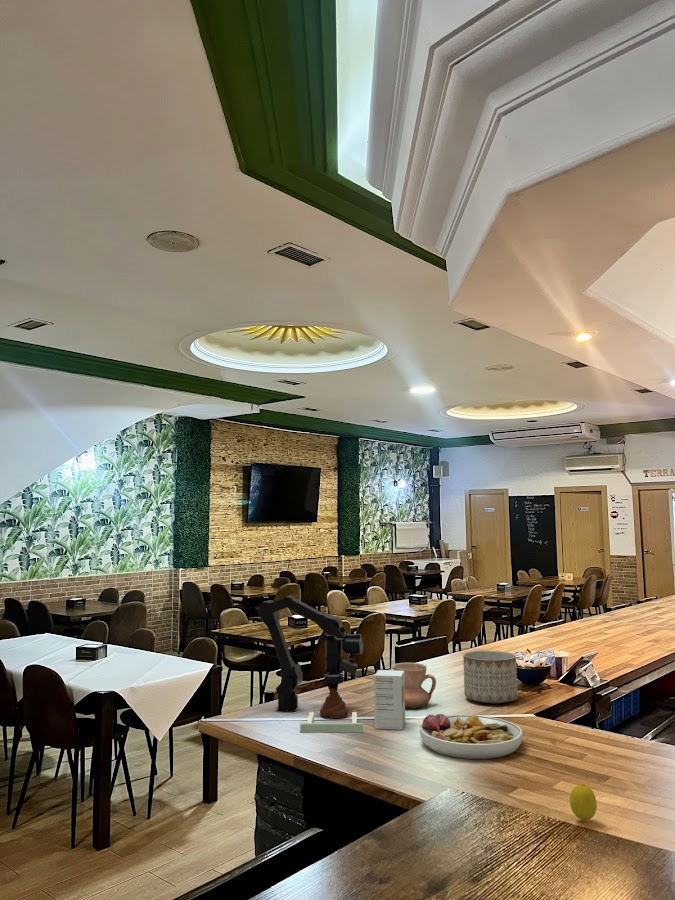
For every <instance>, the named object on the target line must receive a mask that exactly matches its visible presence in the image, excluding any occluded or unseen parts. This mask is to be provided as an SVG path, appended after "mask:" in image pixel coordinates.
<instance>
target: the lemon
mask: <svg viewBox="0 0 675 900" xmlns="http://www.w3.org/2000/svg"><path fill="white" fill-rule="evenodd" d="M569 795H570V796H569V803H570V809H571V811H572V813H573V814H574V815H575V817H577V819H579V820H581V821H582V822H584V823H586V822H587V821H588V820H591V819H592V818H594V816H595V815H596V813H597V805H598V804H597V799H596V795H595V793H594V791H593V789H592V788H590V787H589V786H587V785H586V784H585V783H583V782H582V783H580V784H577V785H575V786H574V787H573V788H572V789H571V791H570V794H569Z"/></svg>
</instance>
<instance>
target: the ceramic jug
mask: <svg viewBox="0 0 675 900" xmlns="http://www.w3.org/2000/svg"><path fill="white" fill-rule="evenodd" d="M392 669H393V670H397V671H404V680H405V709H414V708H415V709H417V708H421V707H424V706H426V705H427V704H429V703H430V702H431V701H430V700H431V699H432V696H433V695H432V694H433V693H434V691H435V689H436V686H437V680H436V677H435V676H434V675H433V674H431V673H428V674H427V665H426V664H424V663H419V662H399V663H394V664H393V667H392ZM428 679H431V682H432V683H431V688H430V690H429V692H428V691H427V690H425V689H424V688H423V687H422V685H423V682H425V681H426V680H428Z"/></svg>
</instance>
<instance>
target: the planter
mask: <svg viewBox="0 0 675 900" xmlns="http://www.w3.org/2000/svg"><path fill="white" fill-rule="evenodd" d="M462 661H463V683H464V684H463V685H464V691H463V692H464V697H465V698H467V699H469V700H471V701H472V700H473V701H475V702H479V703H481V704H486V705H501V704H504V703H508V702H514V701H516V700H517V698H518V697H519V695H518V680H517V679H518V675H517V655H516V654H515V653H513V652H507V651H502V650H471V651H466V652H464V653H463V660H462Z"/></svg>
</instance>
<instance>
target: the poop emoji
mask: <svg viewBox="0 0 675 900" xmlns="http://www.w3.org/2000/svg"><path fill="white" fill-rule="evenodd" d="M319 714H320V716H321V717H323V718H333V719H336V720H337V719H345V718H346V717H348V716H349V709H348V708H347V707H346V701H345V699H344V698H343V697H341V695H340V694H339V692H338V690H337V691H336V690H335V689H334V688H330V691H329V693H328V695H327V696H326V698H325V700H324V702H323V704H322V707H321V708H320V710H319Z"/></svg>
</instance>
